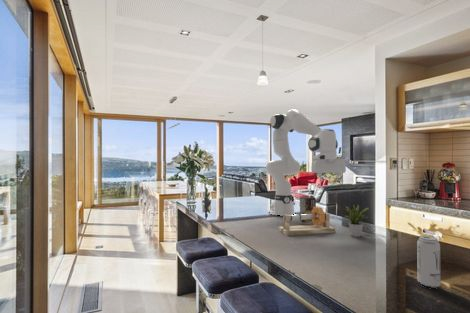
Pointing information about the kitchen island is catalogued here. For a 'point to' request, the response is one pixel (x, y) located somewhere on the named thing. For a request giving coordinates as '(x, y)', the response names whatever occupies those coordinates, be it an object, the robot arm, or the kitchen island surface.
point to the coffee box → (307, 208)
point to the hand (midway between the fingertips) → (329, 181)
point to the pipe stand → (305, 227)
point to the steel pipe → (303, 216)
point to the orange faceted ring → (320, 216)
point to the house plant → (355, 221)
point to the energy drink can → (428, 261)
